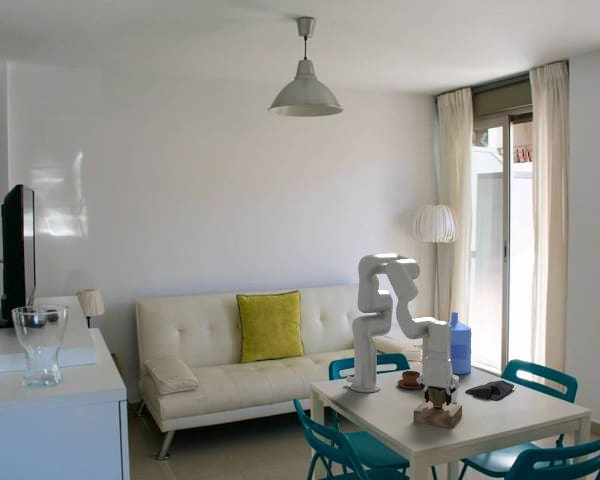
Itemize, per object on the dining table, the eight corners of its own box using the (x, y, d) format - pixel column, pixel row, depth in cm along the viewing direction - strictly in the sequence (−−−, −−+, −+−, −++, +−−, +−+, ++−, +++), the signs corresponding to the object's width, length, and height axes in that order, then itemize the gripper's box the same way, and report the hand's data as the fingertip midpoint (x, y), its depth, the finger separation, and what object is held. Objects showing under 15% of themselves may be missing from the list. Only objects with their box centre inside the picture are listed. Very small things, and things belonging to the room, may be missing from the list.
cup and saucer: (392, 387, 251) (392, 373, 251) (406, 381, 260) (406, 368, 260) (416, 392, 243) (416, 378, 243) (430, 386, 252) (430, 372, 252)
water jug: (446, 364, 289) (446, 309, 288) (476, 369, 279) (476, 312, 278) (431, 371, 277) (432, 313, 276) (463, 376, 267) (463, 316, 266)
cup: (427, 410, 208) (428, 388, 208) (426, 403, 216) (427, 382, 215) (449, 411, 207) (449, 389, 207) (447, 404, 214) (447, 383, 214)
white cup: (459, 404, 227) (459, 379, 227) (438, 403, 229) (438, 378, 228) (458, 398, 235) (458, 374, 234) (438, 397, 236) (438, 373, 236)
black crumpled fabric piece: (520, 391, 246) (521, 380, 246) (495, 402, 231) (496, 391, 230) (487, 384, 257) (487, 373, 257) (461, 394, 242) (461, 383, 241)
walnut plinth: (413, 421, 209) (413, 410, 209) (425, 410, 221) (425, 399, 221) (452, 428, 202) (452, 416, 202) (462, 416, 214) (462, 405, 214)
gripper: (411, 354, 212) (411, 402, 212) (459, 360, 203) (459, 410, 204) (418, 350, 218) (418, 396, 219) (464, 355, 210) (464, 404, 210)
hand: (437, 402), depth 211 cm, fingers closed on cup, 7 cm apart
